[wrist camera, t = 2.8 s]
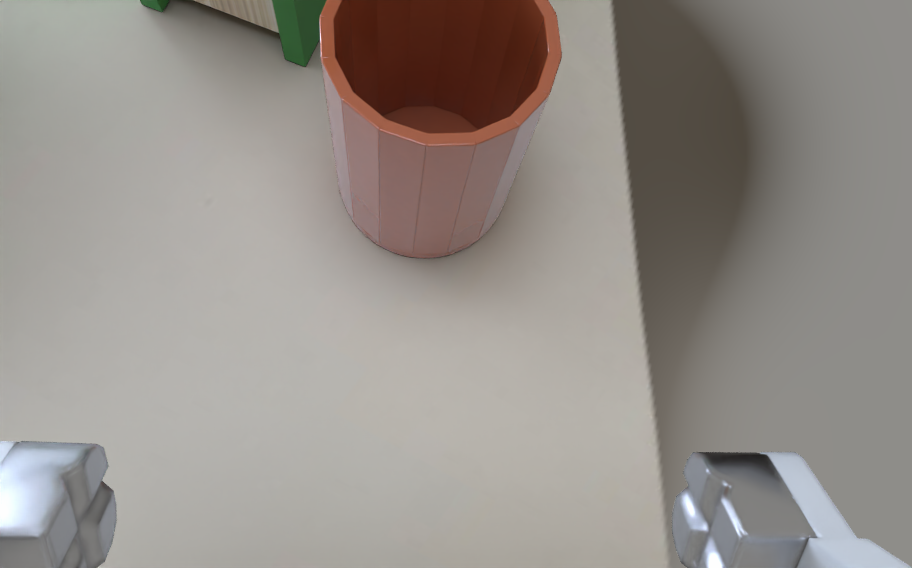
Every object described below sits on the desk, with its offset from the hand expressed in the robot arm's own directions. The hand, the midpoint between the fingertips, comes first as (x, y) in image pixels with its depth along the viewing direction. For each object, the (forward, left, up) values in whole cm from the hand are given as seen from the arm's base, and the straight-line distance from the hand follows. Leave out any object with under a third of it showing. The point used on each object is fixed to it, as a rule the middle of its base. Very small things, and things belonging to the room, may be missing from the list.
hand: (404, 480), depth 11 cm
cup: (+12, +3, -17) cm, 21 cm away
